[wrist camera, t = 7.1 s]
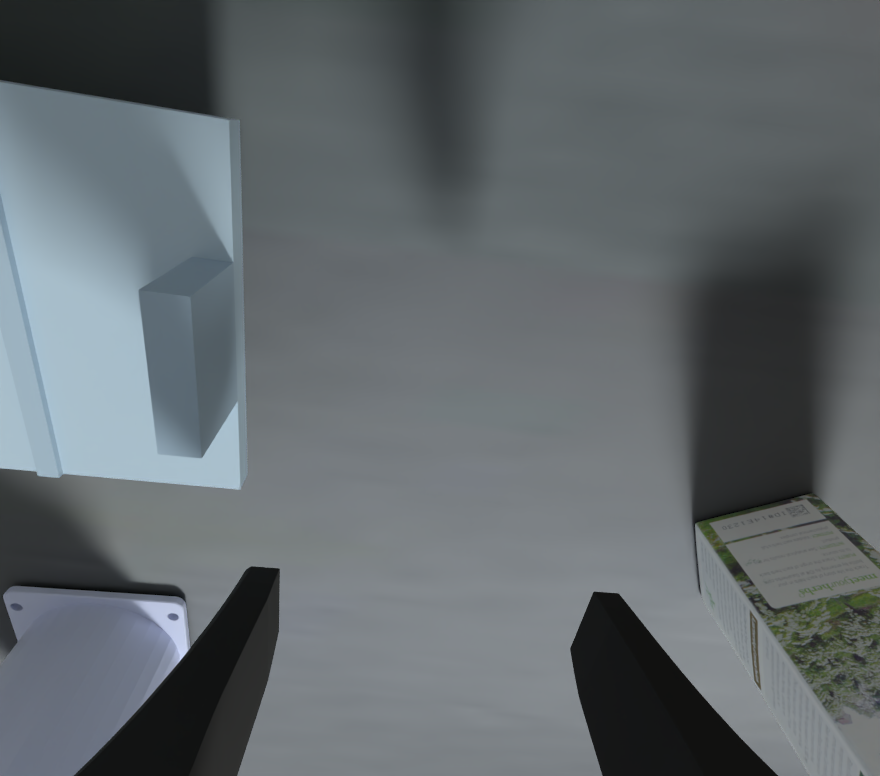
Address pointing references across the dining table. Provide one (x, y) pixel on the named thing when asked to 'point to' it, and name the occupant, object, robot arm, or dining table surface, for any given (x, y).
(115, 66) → the dining table surface
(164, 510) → the dining table surface
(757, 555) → the syrup box
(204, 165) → the lid
